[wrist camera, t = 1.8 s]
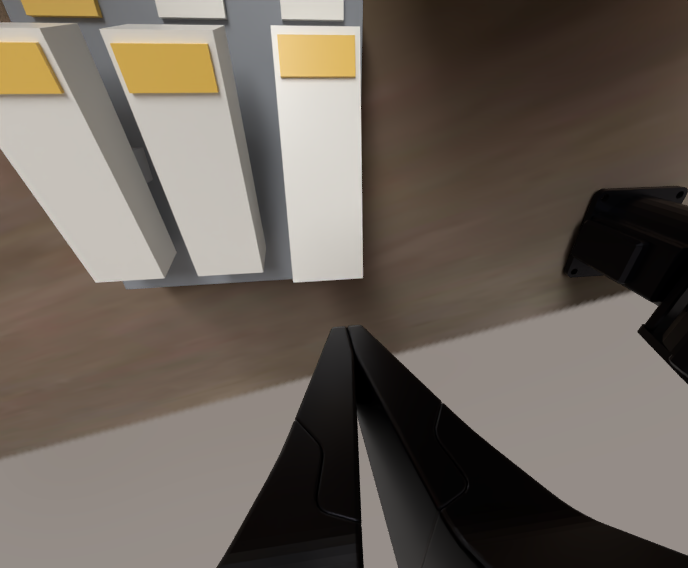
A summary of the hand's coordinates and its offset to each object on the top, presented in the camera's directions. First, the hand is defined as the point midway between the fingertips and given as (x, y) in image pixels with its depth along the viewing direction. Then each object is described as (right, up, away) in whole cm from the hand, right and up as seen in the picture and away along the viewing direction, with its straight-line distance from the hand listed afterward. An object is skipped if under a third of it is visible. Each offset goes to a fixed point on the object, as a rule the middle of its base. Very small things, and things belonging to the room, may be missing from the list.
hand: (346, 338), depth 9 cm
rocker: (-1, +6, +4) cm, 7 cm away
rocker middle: (-5, +6, +4) cm, 9 cm away
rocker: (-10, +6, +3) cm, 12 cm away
